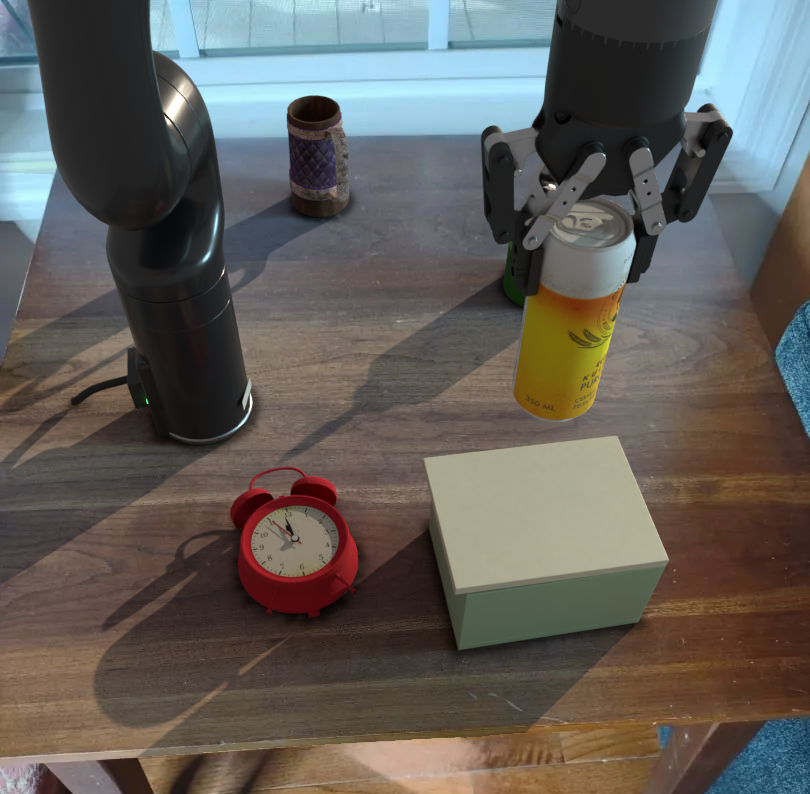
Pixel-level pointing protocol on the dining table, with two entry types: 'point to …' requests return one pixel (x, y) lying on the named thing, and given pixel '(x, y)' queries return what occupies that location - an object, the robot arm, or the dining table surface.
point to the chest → (543, 604)
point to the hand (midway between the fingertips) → (576, 281)
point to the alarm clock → (294, 546)
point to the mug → (317, 156)
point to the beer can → (573, 310)
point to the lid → (540, 514)
